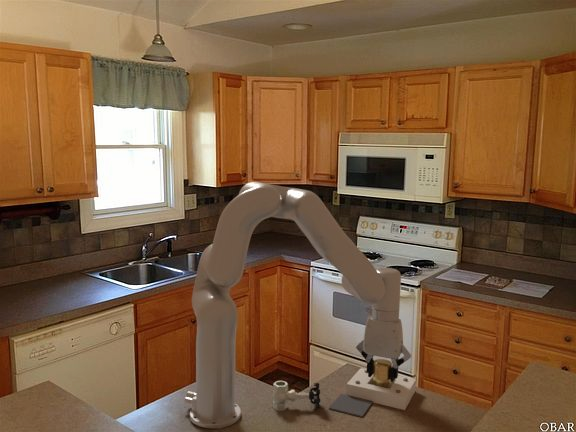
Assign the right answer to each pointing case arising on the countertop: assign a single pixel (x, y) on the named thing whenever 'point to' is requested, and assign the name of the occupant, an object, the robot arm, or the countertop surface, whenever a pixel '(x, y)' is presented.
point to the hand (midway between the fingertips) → (381, 377)
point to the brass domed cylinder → (382, 373)
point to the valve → (292, 395)
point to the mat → (351, 405)
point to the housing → (382, 390)
